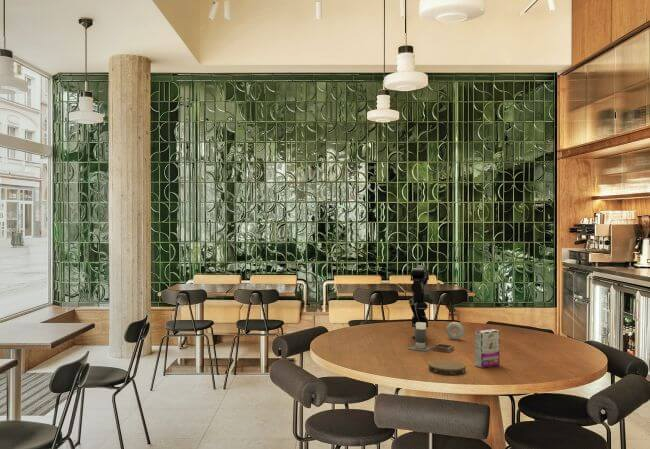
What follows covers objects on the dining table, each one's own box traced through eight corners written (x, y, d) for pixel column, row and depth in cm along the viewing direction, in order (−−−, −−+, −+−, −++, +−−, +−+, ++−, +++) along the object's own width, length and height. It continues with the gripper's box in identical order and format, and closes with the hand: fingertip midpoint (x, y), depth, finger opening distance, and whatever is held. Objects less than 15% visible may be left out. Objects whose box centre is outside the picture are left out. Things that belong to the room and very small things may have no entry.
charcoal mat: (414, 345, 307) (414, 344, 307) (432, 348, 302) (432, 347, 302) (407, 349, 298) (407, 348, 298) (426, 351, 293) (426, 350, 293)
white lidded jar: (417, 346, 304) (417, 321, 304) (427, 347, 301) (427, 322, 301) (413, 347, 299) (413, 323, 299) (423, 349, 296) (424, 324, 296)
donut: (445, 339, 326) (445, 321, 326) (446, 338, 329) (447, 320, 329) (463, 340, 321) (463, 323, 321) (464, 339, 325) (464, 322, 325)
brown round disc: (423, 372, 253) (423, 365, 253) (437, 365, 267) (437, 358, 267) (457, 378, 245) (457, 371, 245) (470, 370, 258) (470, 363, 258)
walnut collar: (437, 347, 304) (437, 343, 304) (454, 349, 299) (454, 345, 299) (431, 350, 296) (431, 346, 296) (448, 352, 292) (448, 348, 292)
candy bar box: (492, 363, 270) (492, 328, 270) (499, 365, 266) (500, 330, 266) (474, 365, 265) (474, 330, 265) (481, 368, 261) (482, 332, 261)
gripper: (437, 292, 307) (436, 321, 307) (427, 288, 325) (427, 316, 325) (416, 292, 306) (416, 322, 306) (408, 288, 324) (408, 316, 324)
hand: (417, 319), depth 315 cm, fingers open, 9 cm apart
